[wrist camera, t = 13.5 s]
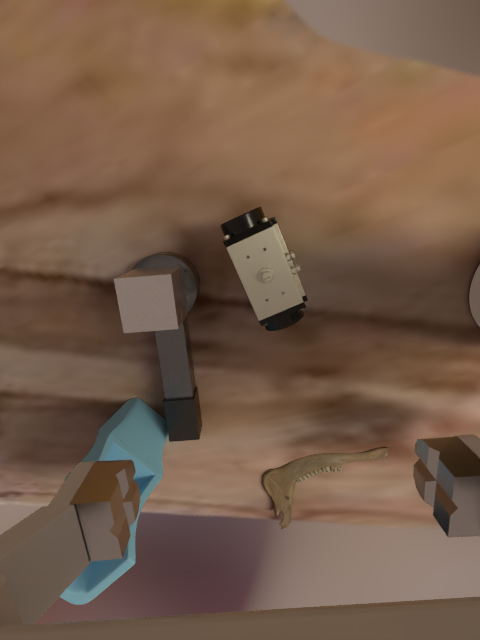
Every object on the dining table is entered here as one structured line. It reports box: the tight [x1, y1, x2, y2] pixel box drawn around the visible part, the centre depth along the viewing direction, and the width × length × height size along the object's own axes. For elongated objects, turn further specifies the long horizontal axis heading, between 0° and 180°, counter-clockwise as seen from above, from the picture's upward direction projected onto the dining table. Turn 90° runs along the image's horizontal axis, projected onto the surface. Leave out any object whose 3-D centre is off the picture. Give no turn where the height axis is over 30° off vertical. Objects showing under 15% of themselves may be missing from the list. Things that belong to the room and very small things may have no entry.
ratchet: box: [133, 252, 202, 441], centre depth 41 cm, size 8×24×8 cm, turn 5°
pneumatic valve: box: [220, 207, 308, 331], centre depth 36 cm, size 6×12×12 cm, turn 24°
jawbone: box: [263, 448, 388, 529], centre depth 50 cm, size 9×20×2 cm, turn 131°
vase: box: [60, 398, 169, 605], centre depth 39 cm, size 8×8×20 cm
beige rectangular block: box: [114, 265, 189, 333], centre depth 36 cm, size 5×5×7 cm
